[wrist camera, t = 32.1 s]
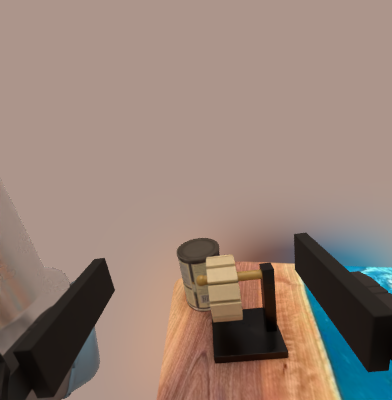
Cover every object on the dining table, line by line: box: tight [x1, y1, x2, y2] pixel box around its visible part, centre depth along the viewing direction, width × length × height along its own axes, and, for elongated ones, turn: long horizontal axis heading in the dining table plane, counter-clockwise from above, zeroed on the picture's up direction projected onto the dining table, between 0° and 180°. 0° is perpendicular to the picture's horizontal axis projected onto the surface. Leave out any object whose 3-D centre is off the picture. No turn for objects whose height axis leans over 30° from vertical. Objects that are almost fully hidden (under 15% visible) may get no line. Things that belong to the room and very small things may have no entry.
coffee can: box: [177, 238, 220, 311], centre depth 52 cm, size 10×10×14 cm
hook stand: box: [196, 263, 288, 363], centre depth 40 cm, size 14×10×16 cm
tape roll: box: [206, 255, 243, 322], centre depth 39 cm, size 5×11×11 cm, turn 178°
